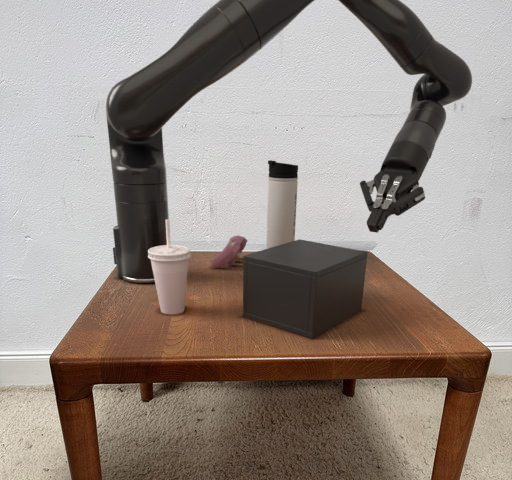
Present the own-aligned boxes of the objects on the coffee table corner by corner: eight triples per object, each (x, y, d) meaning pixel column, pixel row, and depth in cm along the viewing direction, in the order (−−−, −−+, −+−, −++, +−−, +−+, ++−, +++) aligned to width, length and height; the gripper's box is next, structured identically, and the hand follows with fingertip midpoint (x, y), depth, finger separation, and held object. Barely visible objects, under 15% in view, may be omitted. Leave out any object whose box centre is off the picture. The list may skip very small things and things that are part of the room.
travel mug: (259, 252, 111) (261, 159, 103) (284, 249, 114) (288, 158, 106) (274, 259, 106) (277, 161, 98) (299, 256, 109) (304, 161, 101)
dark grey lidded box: (296, 293, 85) (299, 239, 81) (361, 310, 78) (367, 251, 74) (242, 316, 75) (243, 255, 71) (312, 338, 68) (316, 272, 64)
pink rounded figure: (228, 277, 99) (243, 247, 95) (208, 266, 98) (223, 236, 95) (239, 264, 107) (253, 237, 104) (221, 254, 107) (235, 226, 104)
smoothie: (191, 302, 80) (187, 216, 75) (195, 316, 75) (191, 224, 69) (151, 304, 79) (144, 217, 73) (152, 318, 73) (145, 225, 68)
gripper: (372, 137, 92) (334, 212, 89) (442, 140, 85) (403, 222, 82) (381, 164, 99) (346, 235, 95) (446, 170, 91) (410, 247, 88)
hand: (372, 229), depth 89 cm, fingers closed
